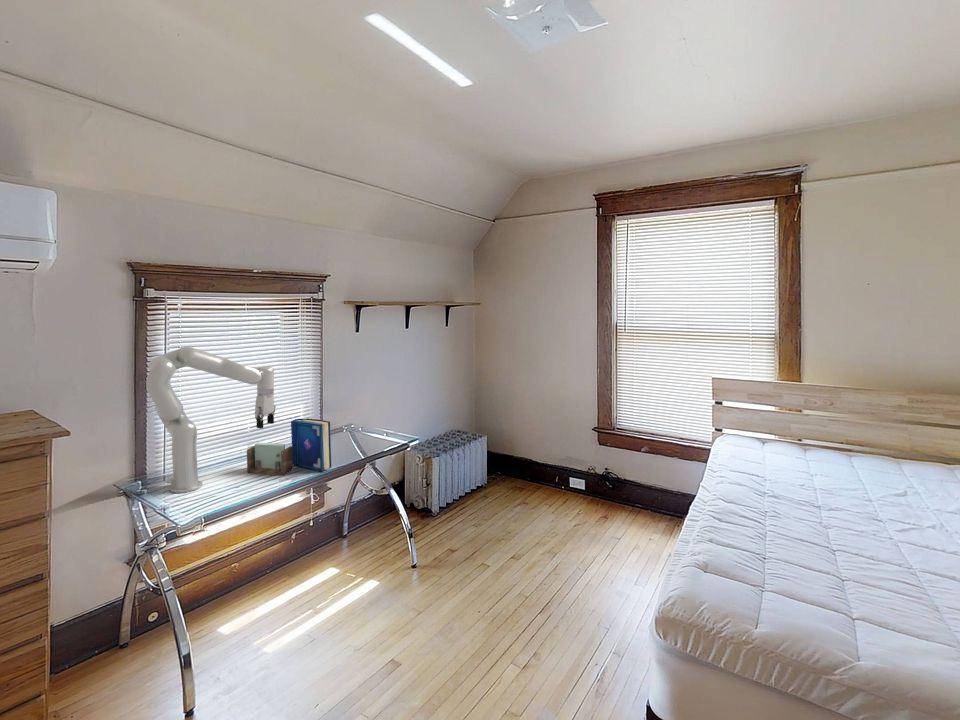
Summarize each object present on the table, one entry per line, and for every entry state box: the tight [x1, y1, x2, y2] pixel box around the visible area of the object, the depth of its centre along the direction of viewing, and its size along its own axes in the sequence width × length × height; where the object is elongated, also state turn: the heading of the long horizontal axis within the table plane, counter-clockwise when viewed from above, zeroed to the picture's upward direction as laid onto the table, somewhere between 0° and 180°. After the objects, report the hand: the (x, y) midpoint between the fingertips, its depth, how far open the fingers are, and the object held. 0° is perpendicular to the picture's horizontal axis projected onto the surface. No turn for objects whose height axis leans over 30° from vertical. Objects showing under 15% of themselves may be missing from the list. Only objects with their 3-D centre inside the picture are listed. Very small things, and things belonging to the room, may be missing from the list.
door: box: [254, 442, 286, 469], centre depth 241 cm, size 14×4×12 cm, turn 86°
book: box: [290, 418, 332, 472], centre depth 249 cm, size 22×7×25 cm, turn 67°
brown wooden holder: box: [246, 445, 294, 476], centre depth 242 cm, size 19×9×12 cm, turn 86°
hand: (265, 425), depth 240 cm, fingers open, 9 cm apart
